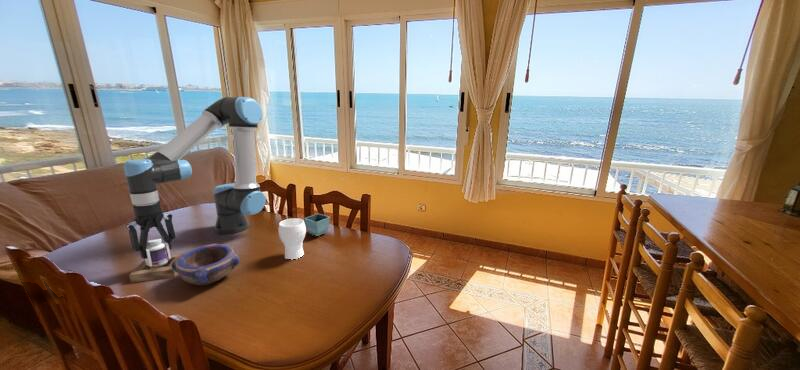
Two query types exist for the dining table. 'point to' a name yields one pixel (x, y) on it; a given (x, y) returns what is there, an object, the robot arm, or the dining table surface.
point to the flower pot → (317, 224)
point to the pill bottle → (157, 252)
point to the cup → (292, 237)
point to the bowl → (206, 264)
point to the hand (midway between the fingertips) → (159, 261)
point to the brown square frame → (154, 271)
